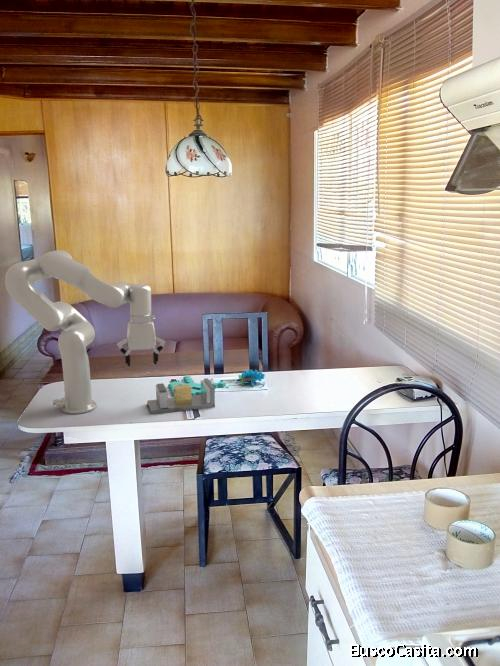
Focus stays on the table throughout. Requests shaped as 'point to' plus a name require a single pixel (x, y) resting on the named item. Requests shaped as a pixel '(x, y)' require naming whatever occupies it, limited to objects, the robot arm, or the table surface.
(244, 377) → the blue flower cluster
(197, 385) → the alien figure
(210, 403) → the vise bed
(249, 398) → the table surface
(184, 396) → the brass block
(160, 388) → the sliding jaw
